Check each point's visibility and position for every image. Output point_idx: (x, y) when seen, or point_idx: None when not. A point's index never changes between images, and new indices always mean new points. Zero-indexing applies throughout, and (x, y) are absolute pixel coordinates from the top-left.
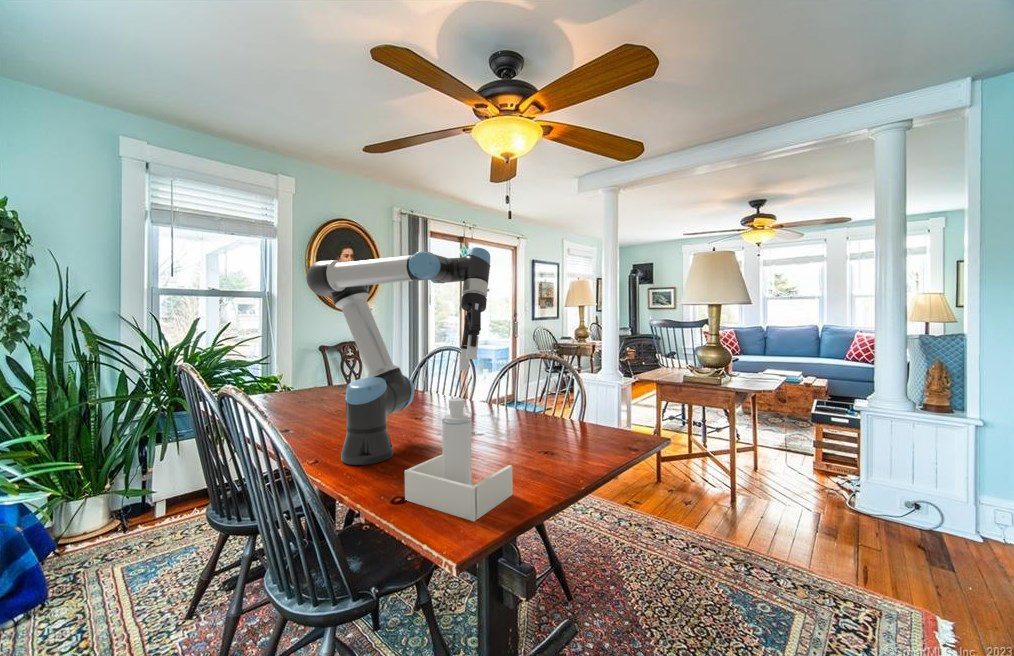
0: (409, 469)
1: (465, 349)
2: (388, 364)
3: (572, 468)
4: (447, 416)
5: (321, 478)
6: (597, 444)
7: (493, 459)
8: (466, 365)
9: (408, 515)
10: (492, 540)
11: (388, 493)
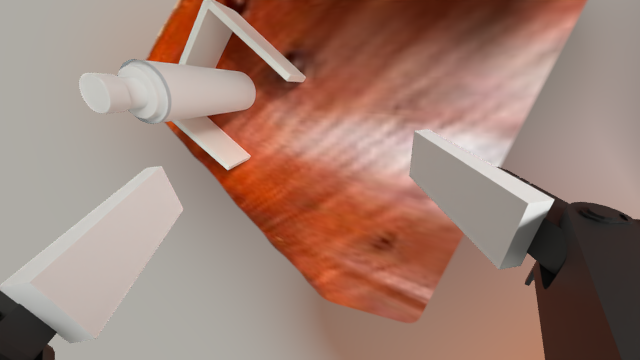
0: (209, 5)
1: (512, 231)
2: None
3: (316, 246)
4: (132, 71)
5: None
6: (400, 312)
7: (375, 160)
8: (423, 176)
9: None
10: None
11: None
